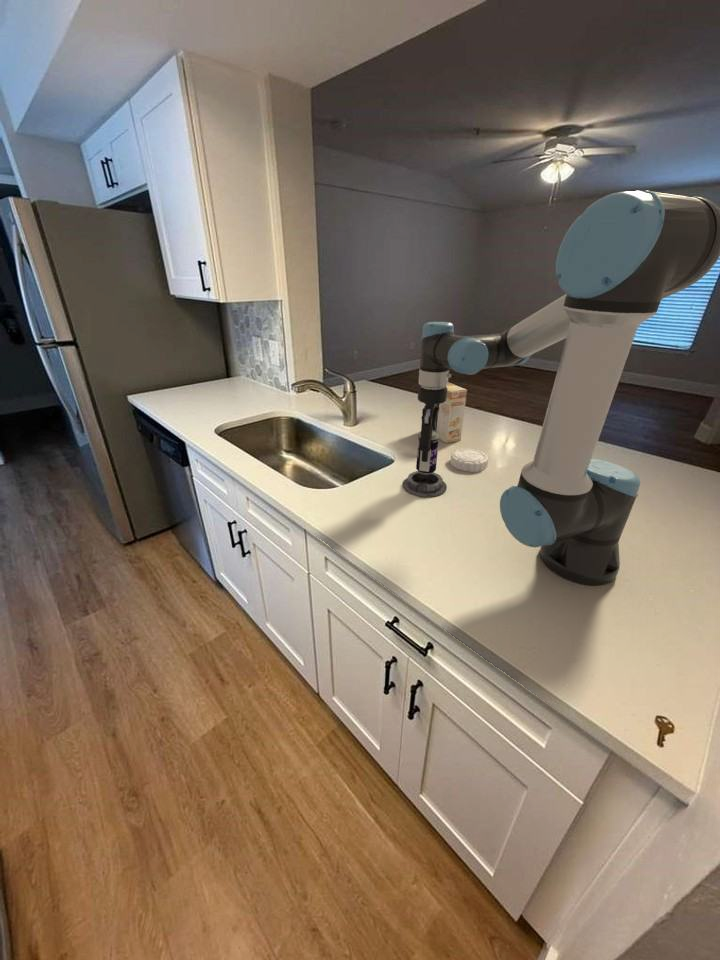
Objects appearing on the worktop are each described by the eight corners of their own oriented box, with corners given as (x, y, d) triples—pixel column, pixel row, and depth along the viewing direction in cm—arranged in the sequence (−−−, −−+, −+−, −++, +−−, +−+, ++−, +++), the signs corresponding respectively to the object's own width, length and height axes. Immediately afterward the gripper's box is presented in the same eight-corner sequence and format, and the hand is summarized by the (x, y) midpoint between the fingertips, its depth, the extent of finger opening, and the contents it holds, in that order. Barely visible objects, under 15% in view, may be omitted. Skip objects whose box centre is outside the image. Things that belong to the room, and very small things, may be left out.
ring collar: (443, 500, 108) (444, 492, 107) (397, 493, 112) (398, 485, 110) (449, 479, 119) (450, 472, 118) (407, 473, 122) (408, 466, 121)
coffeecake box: (461, 440, 146) (468, 389, 137) (445, 443, 144) (450, 391, 135) (440, 427, 159) (444, 379, 149) (424, 430, 156) (428, 381, 147)
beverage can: (420, 476, 110) (423, 437, 104) (412, 468, 115) (415, 430, 109) (438, 474, 111) (442, 435, 105) (430, 466, 116) (434, 428, 110)
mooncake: (445, 468, 126) (447, 458, 125) (455, 454, 136) (456, 444, 134) (483, 475, 122) (485, 465, 120) (490, 460, 131) (491, 451, 130)
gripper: (442, 396, 92) (433, 482, 103) (452, 378, 108) (443, 454, 119) (411, 394, 94) (406, 478, 105) (425, 376, 110) (419, 451, 121)
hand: (426, 465), depth 112 cm, fingers closed on beverage can, 6 cm apart
